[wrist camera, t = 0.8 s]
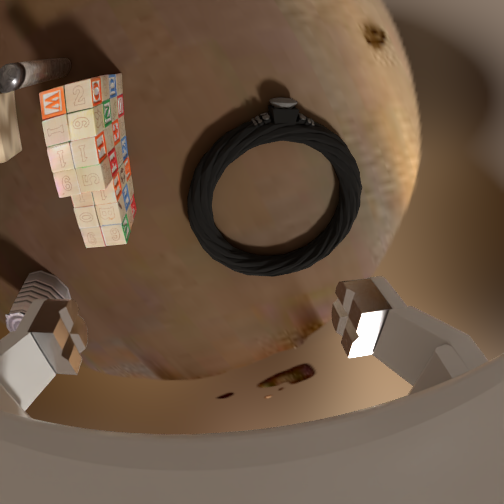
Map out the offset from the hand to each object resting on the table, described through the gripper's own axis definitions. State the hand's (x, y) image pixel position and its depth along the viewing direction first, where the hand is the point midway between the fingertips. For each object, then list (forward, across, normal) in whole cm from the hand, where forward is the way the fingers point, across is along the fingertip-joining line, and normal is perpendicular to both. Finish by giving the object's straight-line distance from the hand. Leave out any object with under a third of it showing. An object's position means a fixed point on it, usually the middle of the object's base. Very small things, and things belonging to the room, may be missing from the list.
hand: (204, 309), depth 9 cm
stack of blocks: (+35, +14, 0) cm, 38 cm away
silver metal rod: (+33, +20, -13) cm, 41 cm away
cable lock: (+37, -10, +9) cm, 39 cm away
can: (+37, +35, +26) cm, 58 cm away
